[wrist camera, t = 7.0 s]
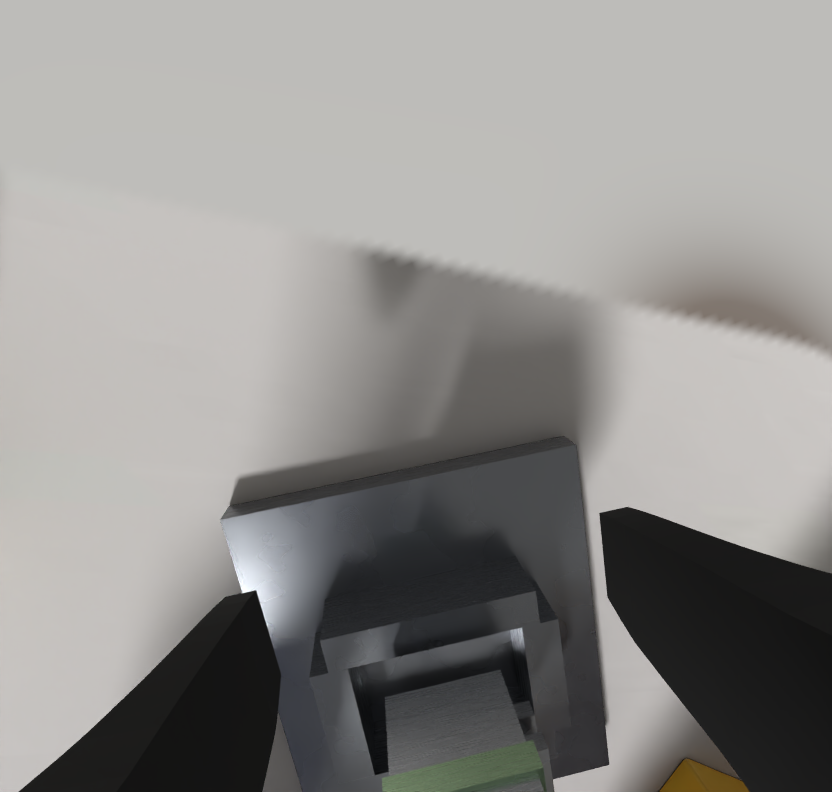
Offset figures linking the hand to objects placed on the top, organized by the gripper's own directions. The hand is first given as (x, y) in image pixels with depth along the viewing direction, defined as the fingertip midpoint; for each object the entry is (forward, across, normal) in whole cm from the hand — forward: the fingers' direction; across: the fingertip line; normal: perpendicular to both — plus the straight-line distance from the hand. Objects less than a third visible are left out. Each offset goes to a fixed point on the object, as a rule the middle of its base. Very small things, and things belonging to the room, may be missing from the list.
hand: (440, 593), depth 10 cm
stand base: (+7, 0, +7) cm, 10 cm away
